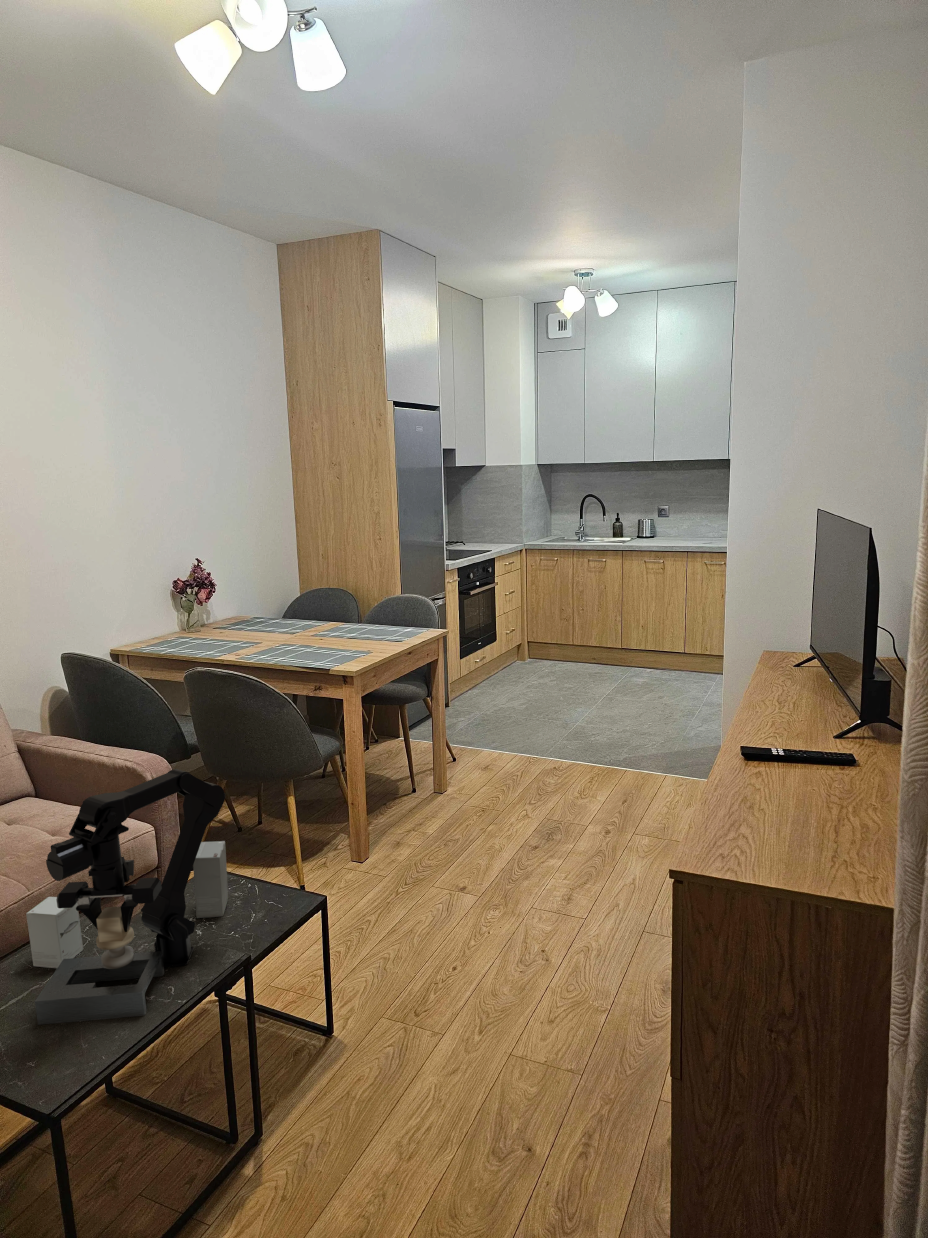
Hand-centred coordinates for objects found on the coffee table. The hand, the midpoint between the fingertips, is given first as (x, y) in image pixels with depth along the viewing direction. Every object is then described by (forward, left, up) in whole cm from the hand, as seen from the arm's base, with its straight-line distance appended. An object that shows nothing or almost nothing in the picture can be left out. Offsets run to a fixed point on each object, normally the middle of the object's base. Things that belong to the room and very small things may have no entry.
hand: (114, 931), depth 166 cm
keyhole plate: (+3, +2, -13) cm, 14 cm away
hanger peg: (0, 0, -6) cm, 6 cm away
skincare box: (-12, -30, -13) cm, 35 cm away
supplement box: (+18, -14, -13) cm, 26 cm away
